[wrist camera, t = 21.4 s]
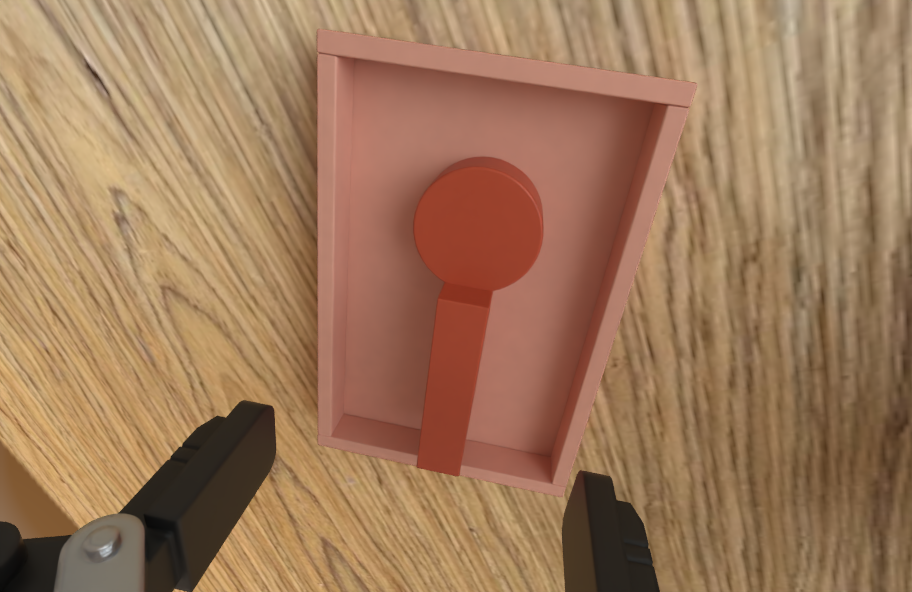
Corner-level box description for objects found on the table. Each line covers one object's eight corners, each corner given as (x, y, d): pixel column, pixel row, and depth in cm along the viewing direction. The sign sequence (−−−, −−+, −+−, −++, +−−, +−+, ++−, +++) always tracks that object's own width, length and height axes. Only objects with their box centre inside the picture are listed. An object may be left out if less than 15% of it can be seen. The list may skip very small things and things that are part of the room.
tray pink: (561, 461, 21) (563, 498, 19) (335, 414, 22) (317, 445, 20) (678, 80, 14) (698, 83, 12) (342, 32, 15) (316, 28, 13)
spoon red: (497, 428, 20) (491, 484, 17) (404, 409, 20) (383, 461, 18) (554, 166, 15) (558, 188, 12) (430, 146, 15) (408, 164, 13)
